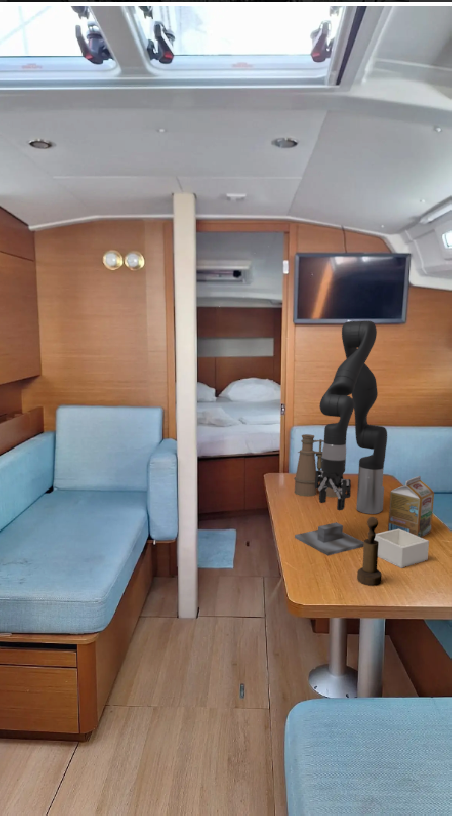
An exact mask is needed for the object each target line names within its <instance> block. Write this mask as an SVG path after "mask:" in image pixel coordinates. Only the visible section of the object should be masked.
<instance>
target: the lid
mask: <svg viewBox="0 0 452 816" xmlns="http://www.w3.org/2000/svg"><path fill="white" fill-rule="evenodd" d="M343 531H344V525H343V524H341V523H339V522H331V523H326V524H323V525H318V526H317V530H311V531H309V532H303V533H298V534H295V535H294V538H295V539H296V540H297V541H299V542H302V543H304V544H305V545H307V546H309V547H311V548H312V549H314V550H316V551H318V552H320V553H322V554H324V555H325V556H327V557H328V556H331V555H336V554H341V553H343V552H347V551H352V550H355V549H359V548H362V547H363V544H364V541H362V540H360V539H358V538H355V537H353V536H352V535H349V534H347V533H345V532H343Z"/></svg>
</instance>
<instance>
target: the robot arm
mask: <svg viewBox="0 0 452 816" xmlns="http://www.w3.org/2000/svg"><path fill="white" fill-rule="evenodd" d="M377 333H378V329H377V325H376V323H375V322H374V321H372V320H349V321H345V322H344V323H343V325H342V327H341V338H342V345H343V350H344V354H345V359H344V361H342V363H341V364H340V365H339V366H338V368H337V370H336V372H335V375H334V377H333V380H332V381H333V382H332V383H331V384H330V385H329V387H328V388H327V390H326V391H325V392H324V393H323V395H322V396H321V399H320V401H319V411H320V413H321V414H322V415H323V416H325V417H335V418H339V421H338V422H335V423H333V422H332V423H327V424H326V425H325V426H324V428H323V440H324V442H323V443H322V447H321V452H322V465H321V469H320V470H318V469H317V470H316V476H315V488H316V490H317V491H318V501H319V503H320V504H324V503H326V502H327V501H326V500H327V497H326V491H325V490H326V489H327V488H328V487H330V488H331V489H333V490H334V492H335V493H336V494H337V496H338V497H337V502H336V504H337V506H336V509H337V511H338V512H339V511H343V510H345V507H346V506H345V505H346V499H350V498H351V495H352V493H351V489H352V488H351V487H352V482H351V481H352V480H351V479H350V478H344V473H345V472H346V466H347V465H346V462H347V435H348V433H347V432H348V428H349V424H350V421H351V418H352V415H353V413H354V428H355V429H354V430H355V442H356V445H357V446H358V447H359V448H362V449H366V450H372V451H373V453H372V455H369V456H364V457H360V458H359V460H358V473H357V491H356V507H355V509H356V511H358V512H360V513H363V514H369V515H370V514H371V515H375V514H376V515H377V514H380V513H382V511H383V510H384V497H385V496H384V495H385V486H384V485H383V483H384V468H385V461H386V460H385V459H386V453H387V452H386V451H387V444H388V431H387V428H386V427H385V426H382V425H380V426H379V425H372V424H368V420H367V418H368V414H369V413H370V410H371V409H372V407H373V406H374V404H375V403H376V401H377V399H378V395H379V394H378V393H379V392H378V385H377V377H376V376H375V374H374V373H373V371H372V370H371V369H370V368H369V367H368V365H367V364H366V360H367V359H368V357H369V355H370V354H371V351H372V349H373V348H374V345H375V343H376V341H377V335H378V334H377ZM350 395H351V396H350ZM339 487H340V489H338V488H339ZM340 492H341V494H342V495H341V494H340Z"/></svg>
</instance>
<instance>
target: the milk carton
mask: <svg viewBox="0 0 452 816" xmlns="http://www.w3.org/2000/svg"><path fill="white" fill-rule="evenodd" d="M421 477H422V476H421V475H418V476H415V477H413V478H410V479H407V480H405V484H403V485H401V486H399V487H397V488H395V489H392V490H391V491H390V493H389V506H388V507H389V510H388V522H387V523H388V524H387V531H391V530H395V529H401V530H403V531H406V532H408V533H411V534H413V535H416V536H418V537H420V538H423V537H425V536H427V535H429V534H431V533H432V526H433V514H434V513H433V512H434V500H435V499H434V498H435V492H434V491H433V489H431V487H430V486H429V485H428V484H426V483H425V482H424V481H423V480H422V478H421Z"/></svg>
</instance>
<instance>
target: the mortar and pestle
mask: <svg viewBox="0 0 452 816" xmlns="http://www.w3.org/2000/svg"><path fill="white" fill-rule="evenodd" d="M366 524H367V527H368V529H369V530H368V532H367V533H366V534H367V539H366V538H365V539H364V540H363V542H364V544H363V550H362V551H363V552H362V566H361V567H359V568H358V569H357V572H356V573H357V574H356V575H357V576H356V580H357V581H358V583H359V584H363V585H366V586H372V587H373V586H379V585H380V584H381V583H382V579H383V578H382V575H383V574H382V572H381V571H380V570H379V569H378V563H379V562H378V558H379V557H378V545H379V542H378V541H376V540H374V539H375V537H376V534H377V533H376V529H377V527H378V526H379V520H378V518H376V517H374V516H369V517H368V518H367V520H366Z"/></svg>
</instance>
